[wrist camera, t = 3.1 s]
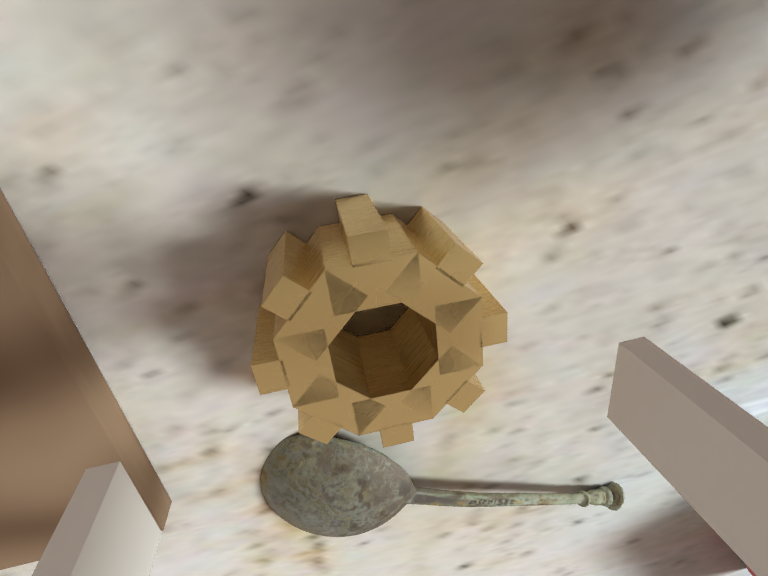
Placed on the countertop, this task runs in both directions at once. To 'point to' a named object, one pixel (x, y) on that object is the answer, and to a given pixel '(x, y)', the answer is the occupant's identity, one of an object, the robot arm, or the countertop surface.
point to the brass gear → (382, 349)
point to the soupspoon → (373, 488)
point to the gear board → (51, 408)
